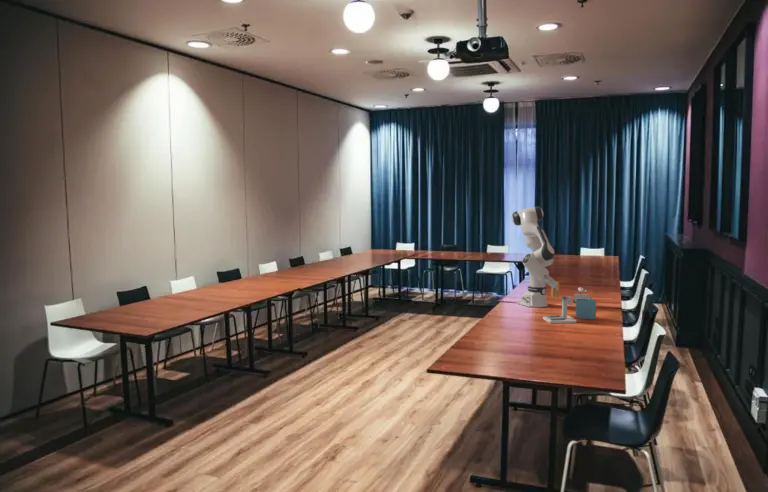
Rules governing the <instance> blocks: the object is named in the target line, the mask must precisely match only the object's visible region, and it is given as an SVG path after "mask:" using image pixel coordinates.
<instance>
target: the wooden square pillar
mask: <svg viewBox="0 0 768 492" xmlns="http://www.w3.org/2000/svg"><path fill="white" fill-rule="evenodd" d="M555 281H556V282H557V283H558V285H557V287H558V288H559V289H558V290H556V289H555V288H553V287H552V286H550V287H551V288H550V296H551V297H552V298H559V297H560V281H558V280H555Z"/></svg>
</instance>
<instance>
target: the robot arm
mask: <svg viewBox="0 0 768 492" xmlns="http://www.w3.org/2000/svg"><path fill="white" fill-rule="evenodd" d="M511 215H512V216H511V220H512V222H513V224H514V226H515V225H516V226H521V231H522V233H523V236H524V241H525V245H526V247H527V248H529V249H530V250H531V251H532V252H529V253H527V254H524V255H523V257H522V259H521V260H522V264H523V266H524V267H525V268H526V270H527V271H528V274H529V286H527V290H526V291H525V292H523V294H522V295H520V300H519V301H517V302H516V304H517V305H521V306H524V307H528V308H545V307H548V306H549V305H548V302H547V286H549V287H551V286H552V287H553V288H555V289H556V290H558V289H559V290H560V287H559V288H558V287H557V285H558V283H557V282H556V281H557V280H555V279H554V278H553V277H551V275H550V271H549V270H548V268H546V267H549V266H551V265H552V264H553V263H554V258H555V254H556V253H555V252H556V251H555V249H554V248H553V246H552V245H551V242H550V239H549V238H548V236H547V233H546V231H545V229H544V228H543V227H542V226H540V225H539V223H540V221H542V220H543V217H544V211H543V209H542V207H540V206H538V205H537V206H532V207H525V208H524V209H520V210H516V211H514V212H513V213H512V214H511ZM546 285H547V286H546Z"/></svg>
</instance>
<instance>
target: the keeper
mask: <svg viewBox="0 0 768 492" xmlns="http://www.w3.org/2000/svg"><path fill="white" fill-rule="evenodd" d="M572 305H573V297H572V295H569V296H561V314H552V315H551V314H549V315H545V316H542V319H543V320H544V321H545V322H547V323H548V322H549V324H550V323H551V324H575V323H577V320H576V319H575V318H573V317H571V316H570V315H568V306H572Z"/></svg>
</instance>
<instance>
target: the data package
mask: <svg viewBox="0 0 768 492" xmlns="http://www.w3.org/2000/svg"><path fill="white" fill-rule="evenodd" d="M575 316H576V318H577V319H587V320H588V319H589V320H595V319H596V316H597V301H596V300H595V299H591V300H589V299H577V300H576V302H575Z"/></svg>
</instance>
